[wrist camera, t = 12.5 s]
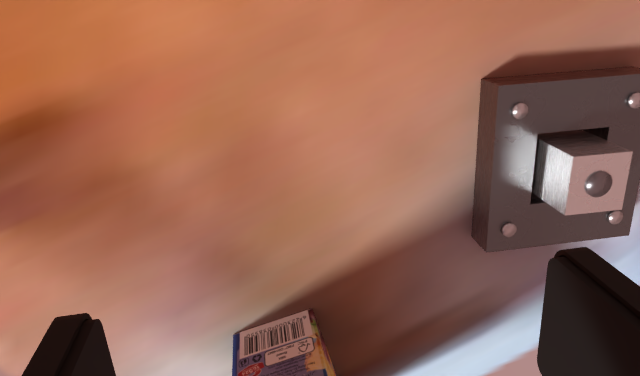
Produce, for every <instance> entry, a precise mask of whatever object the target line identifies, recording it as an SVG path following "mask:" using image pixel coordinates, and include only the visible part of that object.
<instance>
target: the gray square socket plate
mask: <svg viewBox="0 0 640 376" xmlns="http://www.w3.org/2000/svg"><path fill="white" fill-rule="evenodd" d="M582 129H584V131H586V132H588V133H591V134H593V135H595V136H598V137H600V138H602V139H605V140H607V141H609V142H612V143H614V144H617V145H619V146H621V147H624V148H626V149H628V150H631V151H633V153H632V159H631V164H630V169H629V175H628V180H627V185H626V190H625V196H624V201H623V206H622V210H613V211H604V212H594V213H585V214H575V215H566V216H565V215H563V214H562V213H560V212H559V211H558V210H556V209H555V208H553V207H552V206H551V205H549V204H548V203H546V202H545V201H544V200H542V199H541V198H539V197H538V196H537V195H535V194H534V193H532V183H533V173H534V164H535V154H536V145H537V136H538V134H540V133H551V132H561V131H572V130H582ZM639 180H640V68H637V67H622V68H610V69H597V70H585V71H573V72H561V73H549V74H537V75H525V76H512V77H500V78H488V79H481V92H480V108H479V124H478V140H477V157H476V173H475V189H474V205H473V221H472V237H473V239H474V240H475V241H476V242H477V243H478V244H479V245H480V246H481V247H482V248H483V249H484V251H485V252H494V251H502V250H510V249H519V248H527V247H535V246H544V245H552V244H560V243H568V242H577V241H585V240H593V239H601V238H610V237H618V236H626V235H629V232H630V227H631V222H632V217H633V211H634V206H635V201H636V195H637V190H638V185H639Z"/></svg>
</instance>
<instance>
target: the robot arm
mask: <svg viewBox="0 0 640 376" xmlns="http://www.w3.org/2000/svg"><path fill="white" fill-rule="evenodd" d="M537 363H538V367H539V370H540V372H541V374H542V376H640V286H638V285H637V284H636V283H634V282H633V281H632V280H630V279H629V278H628V277H626V276H625V275H624V274H622V273H621V272H620V271H618V270H617V269H616V268H614V267H613V266H612V265H610V264H609V263H608V262H606V261H605V260H604V259H603V258H601V257H600V256H599V255H597V254H596V253H595V252H593V251H592V250H591V249H589V248H587V247H581V248H574V249H566V250H560V251H558V252H557V253H556V254H555V257H554V258H552V259H550V261H549V262H548V268H547V277H546V285H545V294H544V303H543V312H542V320H541V329H540V338H539V346H538V355H537ZM22 376H116V374H115V371H114V367H113V363H112V359H111V356H110V352H109V348H108V345H107V341H106V337H105V333H104V330H103V326H102V323H101V321H100V320H99V319H94V320H92V318H91V316H90V315H89V314H87V313H83V314H76V315H68V316H60V317H56V318H55V319H54V320H53V322H52V323H51V325H50V327H49V329H48V330H47V332H46V334H45V336H44V337H43V339H42V341H41V343H40V344H39V346H38V348H37V350H36V351H35V353H34V355H33V357H32V358H31V360H30V362H29V364H28V365H27V367H26V369H25V371H24V373H23V374H22Z"/></svg>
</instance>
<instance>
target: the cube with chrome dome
mask: <svg viewBox="0 0 640 376" xmlns="http://www.w3.org/2000/svg"><path fill="white" fill-rule="evenodd" d="M632 153H633V151H631V150H628V149H626V148H624V147H621V146H619V145H617V144H614V143H612V142H609V141H607V140H605V139H602V138H600V137H598V136H595V135H593V134H591V133H588V132H586V131H583V130H572V131H561V132H551V133H540V134H538V136H537V145H536V154H535V164H534V173H533V183H532V193H534V194H535V195H537V196H538V197H539V198H541V199H542V200H544V201H545V202H546V203H548V204H549V205H551V206H552V207H553V208H555V209H556V210H558V211H559V212H560V213H562V214H563V215H565V216H566V215H575V214H585V213H594V212H604V211H613V210H622V206H623V201H624V196H625V190H626V185H627V180H628V175H629V169H630V164H631V159H632Z"/></svg>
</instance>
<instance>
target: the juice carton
mask: <svg viewBox="0 0 640 376" xmlns="http://www.w3.org/2000/svg"><path fill="white" fill-rule="evenodd" d="M232 376H337V375H336V373H335V370H334V367H333V364H332V361H331V359H330V356H329V353H328V350H327V348H326V345H325V342H324V339H323V337H322V334H321V331H320V328H319V326H318V323H317V320H316V317H315V315H314V312H313V309H312V308H311V309H308V310H305V311H302V312H299V313H296V314H293V315H290V316H287V317H284V318H281V319H278V320H275V321H272V322H269V323H266V324H263V325H260V326H257V327H254V328H251V329H248V330H245V331H242V332H239V333H236V334H233V368H232Z"/></svg>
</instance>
